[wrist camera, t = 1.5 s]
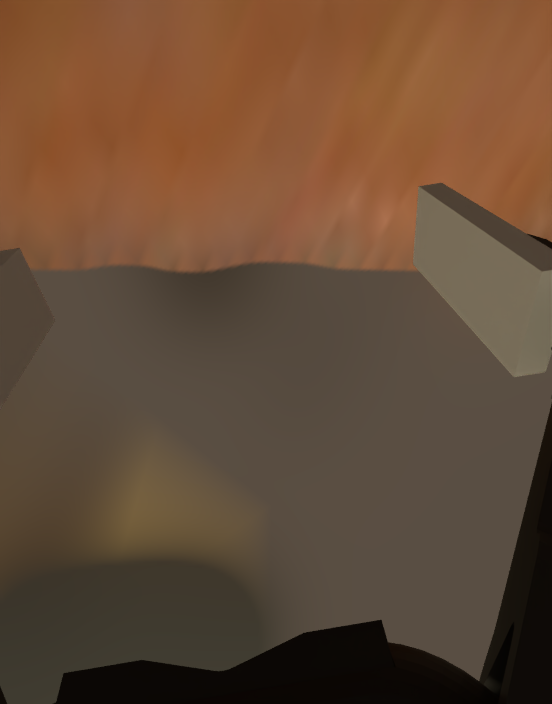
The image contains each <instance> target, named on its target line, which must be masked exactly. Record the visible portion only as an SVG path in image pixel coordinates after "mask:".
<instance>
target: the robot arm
mask: <svg viewBox="0 0 552 704" xmlns="http://www.w3.org/2000/svg"><path fill="white" fill-rule="evenodd" d="M413 265H414V266H415V267H416V268H417V269H418V270H419V271H420V272H421V274H422V275H423V276H424V277H425V278H426V279H427V280H428V281H429V282H430V283H431V284H432V286H433V287H434V288H435V289H436V290H437V291H438V293H439V294H440V295H441V296H442V297H443V298H444V299H445V300H446V302H447V303H448V304H449V305H450V306H451V307H452V308H453V309H454V310H455V311H456V313H457V314H458V315H459V316H460V317H461V318H462V319H463V321H464V322H465V323H466V324H467V325H468V326H469V327H470V328H471V329H472V330H473V332H474V333H475V334H476V335H477V336H478V337H479V339H480V340H481V341H482V342H483V343H484V344H485V345H486V346H487V347H488V348H489V350H490V351H491V352H492V353H493V354H494V355H495V356H496V358H497V359H498V360H499V361H500V362H501V363H502V364H503V365H504V366H505V368H506V369H507V370H508V371H509V372H510V373H511V374H512V375H513V377H518V376H524V375H530V374H536V373H543V372H545V371H546V368H547V365H548V362H549V359H550V356H551V353H552V242H550V241H548V240H547V239H543V238H540V237H537V236H533V235H530V234H526V233H524V232H522V231H521V230H519V229H517V228H516V227H514V226H512V225H511V224H509V223H507V222H506V221H504V220H503V219H501V218H499V217H498V216H496V215H494V214H493V213H491V212H489V211H488V210H486V209H484V208H483V207H481V206H479V205H478V204H476V203H474V202H473V201H471V200H469V199H468V198H466V197H464V196H463V195H461V194H459V193H458V192H456V191H454V190H453V189H451V188H449V187H448V186H446V185H444V184H443V183H437V184H431V185H424V186H419V189H418V203H417V216H416V230H415V244H414V258H413ZM54 322H55V319H54V316H53V315H52V312H51V310H50V308H49V306H48V305H47V303H46V300H45V298H44V297H43V294H42V292H41V290H40V288H39V287H38V284H37V282H36V280H35V278H34V276H33V274H32V272H31V270H30V268H29V266H28V264H27V262H26V260H25V258H24V256H23V254H22V252H21V250H20V248H17V249H10V250H4V251H0V409H1V408H2V406H3V404H4V403H5V401H6V399H7V398H8V396H9V395H10V393H11V391H12V390H13V388H14V387H15V385H16V383H17V382H18V380H19V378H20V377H21V375H22V373H23V372H24V370H25V369H26V367H27V365H28V364H29V362H30V361H31V359H32V357H33V356H34V354H35V352H36V351H37V349H38V348H39V346H40V344H41V343H42V341H43V340H44V338H45V336H46V334H47V333H48V332H49V330H50V328H51V327H52V325H53V323H54ZM551 398H552V396H551ZM0 704H7V702H6V700H5V697H4V694H3V692H2V690H1V687H0ZM54 704H552V404H551V408H550V413H549V416H548V420H547V424H546V429H545V432H544V436H543V440H542V444H541V448H540V452H539V456H538V460H537V464H536V468H535V472H534V476H533V480H532V484H531V488H530V492H529V496H528V500H527V504H526V508H525V512H524V516H523V520H522V524H521V528H520V531H519V535H518V539H517V543H516V548H515V551H514V555H513V559H512V563H511V567H510V571H509V575H508V579H507V583H506V587H505V591H504V595H503V599H502V603H501V607H500V611H499V615H498V619H497V623H496V627H495V630H494V634H493V637H492V641H491V644H490V647H489V650H488V653H487V656H486V660H485V663H484V666H483V670H482V673H481V677H480V681H478V680H476V679H475V678H473V677H472V676H471V675H469V674H468V673H466V672H465V671H463V670H462V669H460V668H458V667H456V666H454V665H453V664H451V663H449V662H447V661H446V660H444V659H442V658H439V657H437V656H435V655H432V654H430V653H427V652H425V651H423V650H419V649H416V648H412V647H409V646H405V645H401V644H395V643H389V642H387V638H386V635H385V631H384V627H383V624H382V620H377V621H371V622H366V623H360V624H353V625H348V626H341V627H336V628H330V629H324V630H318V631H312V632H306V633H303V634H301V635H299V636H297V637H295V638H292V639H291V640H288V641H286V642H285V643H282V644H280V645H278V646H276V647H274V648H272V649H270V650H268V651H266V652H264V653H262V654H260V655H258V656H256V657H254V658H252V659H250V660H248V661H246V662H244V663H241V664H239V665H237V666H236V667H233V668H231V669H229V670H225V671H211V670H204V669H198V668H191V667H184V666H177V665H171V664H165V663H158V662H152V661H145V660H139V661H134V662H128V663H122V664H116V665H110V666H104V667H98V668H92V669H87V670H80V671H74V672H68V673H64V674H63V678H62V682H61V686H60V690H59V694H58V698H57V701H56V703H54Z"/></svg>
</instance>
